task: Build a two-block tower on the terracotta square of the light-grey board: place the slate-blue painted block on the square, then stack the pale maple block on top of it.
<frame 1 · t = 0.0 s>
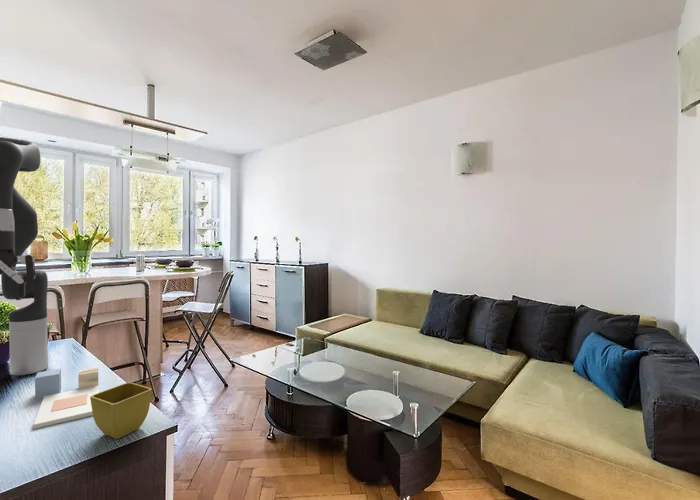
slate block: (48, 394, 96), on the table
board: (70, 406, 89), on the table
flower pot: (122, 432, 77), on the table
maple block: (88, 387, 101), on the table
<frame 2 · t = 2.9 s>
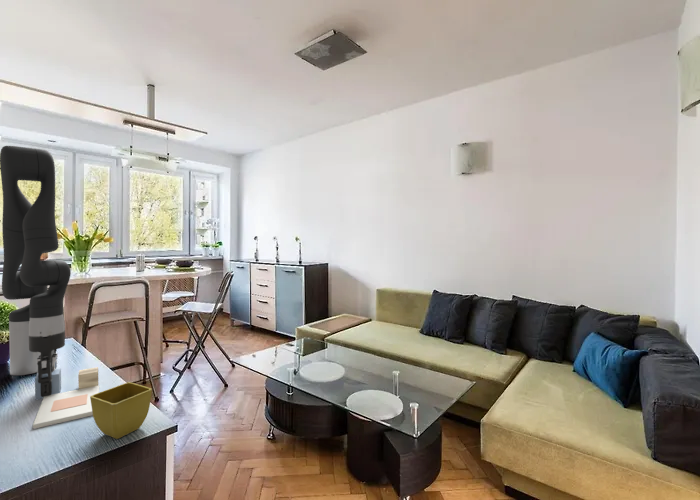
hand: (48, 391, 96), 1 cm above the table, fingers open, 6 cm apart
nothing on the table moved.
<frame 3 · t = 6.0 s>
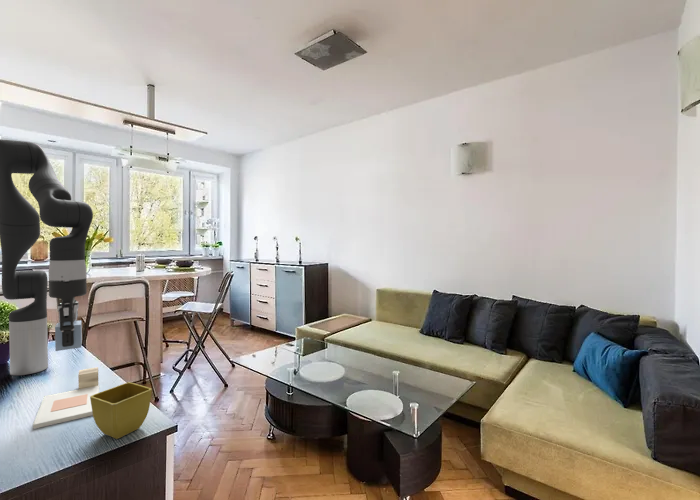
hand: (69, 342, 88), 17 cm above the table, fingers closed on slate block, 5 cm apart
slate block: (69, 346, 89), point 16 cm above the table, touching gripper
everything else where it was.
when the fingers open (3 cm above the table, at t = 8.8 s): slate block stays where it is, resting on board.
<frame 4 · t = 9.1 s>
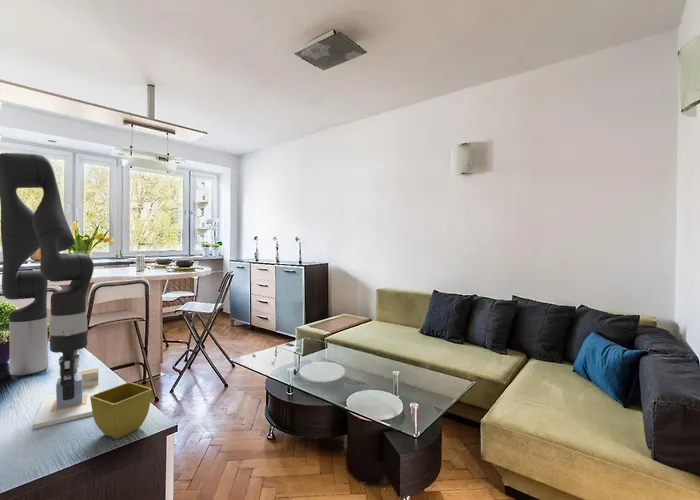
hand: (69, 393, 89), 3 cm above the table, fingers open, 7 cm apart
slate block: (70, 402, 89), point 1 cm above the table, touching board
everything else where it was.
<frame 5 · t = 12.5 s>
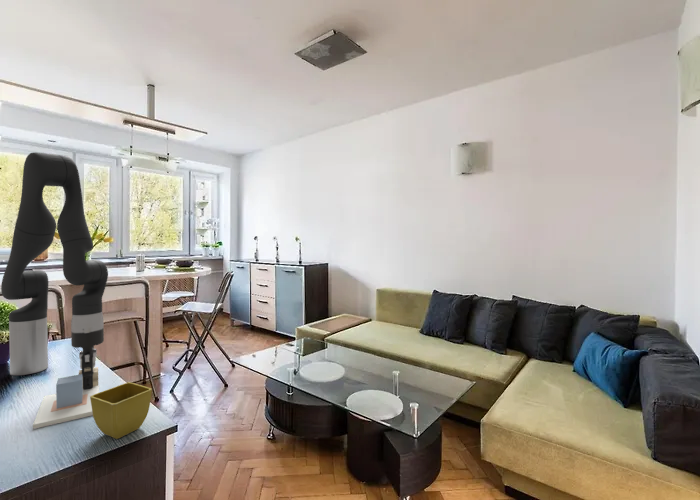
hand: (88, 384, 100), 1 cm above the table, fingers open, 7 cm apart
nothing on the table moved.
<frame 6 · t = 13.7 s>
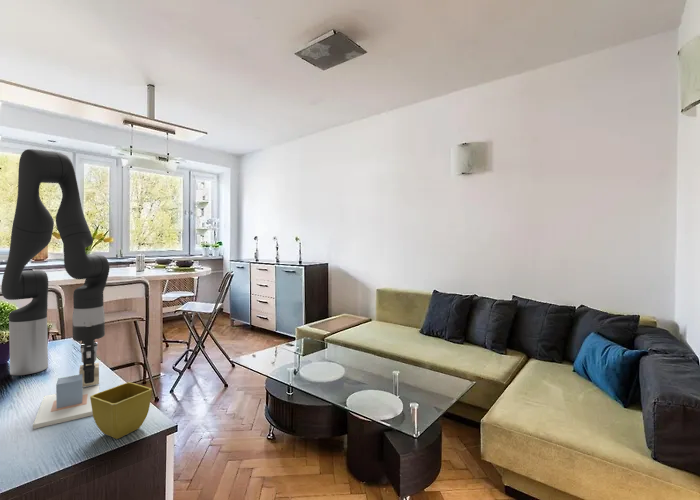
hand: (89, 379, 101), 2 cm above the table, fingers closed on maple block, 4 cm apart
maple block: (89, 382, 101), point 1 cm above the table, touching gripper
everything else where it was.
when the fingers open (9 cm above the table, at t = 17.7 s): maple block stays where it is, resting on slate block.
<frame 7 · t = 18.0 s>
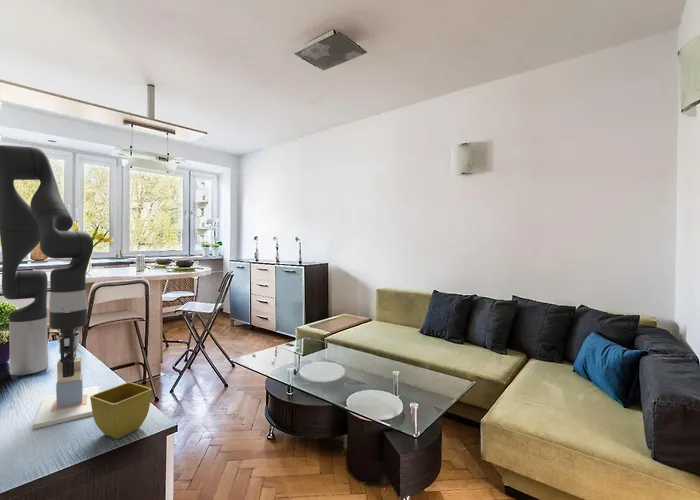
hand: (69, 372, 89), 9 cm above the table, fingers open, 6 cm apart
slate block: (70, 402, 89), point 1 cm above the table, touching board, maple block
maple block: (69, 379, 89), point 7 cm above the table, touching slate block
everything else where it was.
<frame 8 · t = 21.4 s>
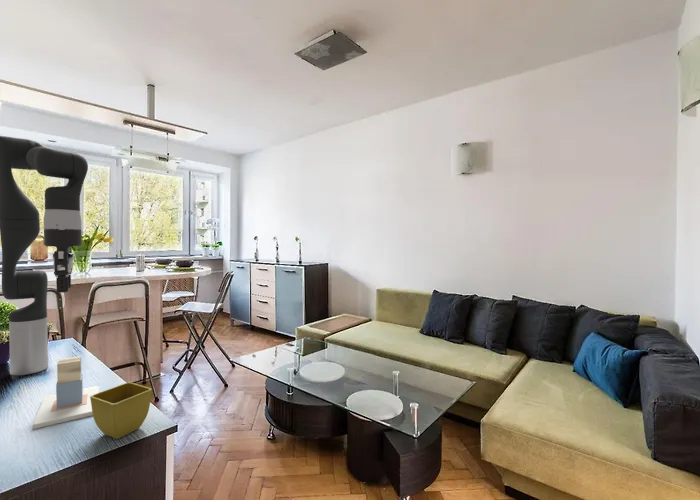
hand: (64, 290, 89), 30 cm above the table, fingers open, 8 cm apart
nothing on the table moved.
at the end: slate block inside the target area (0.1 cm from its centre), point 1.1 cm above the table; maple block 0.0 cm off-centre on the slate block, point 6.0 cm above the slate block's base; maple block tilted 0° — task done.
